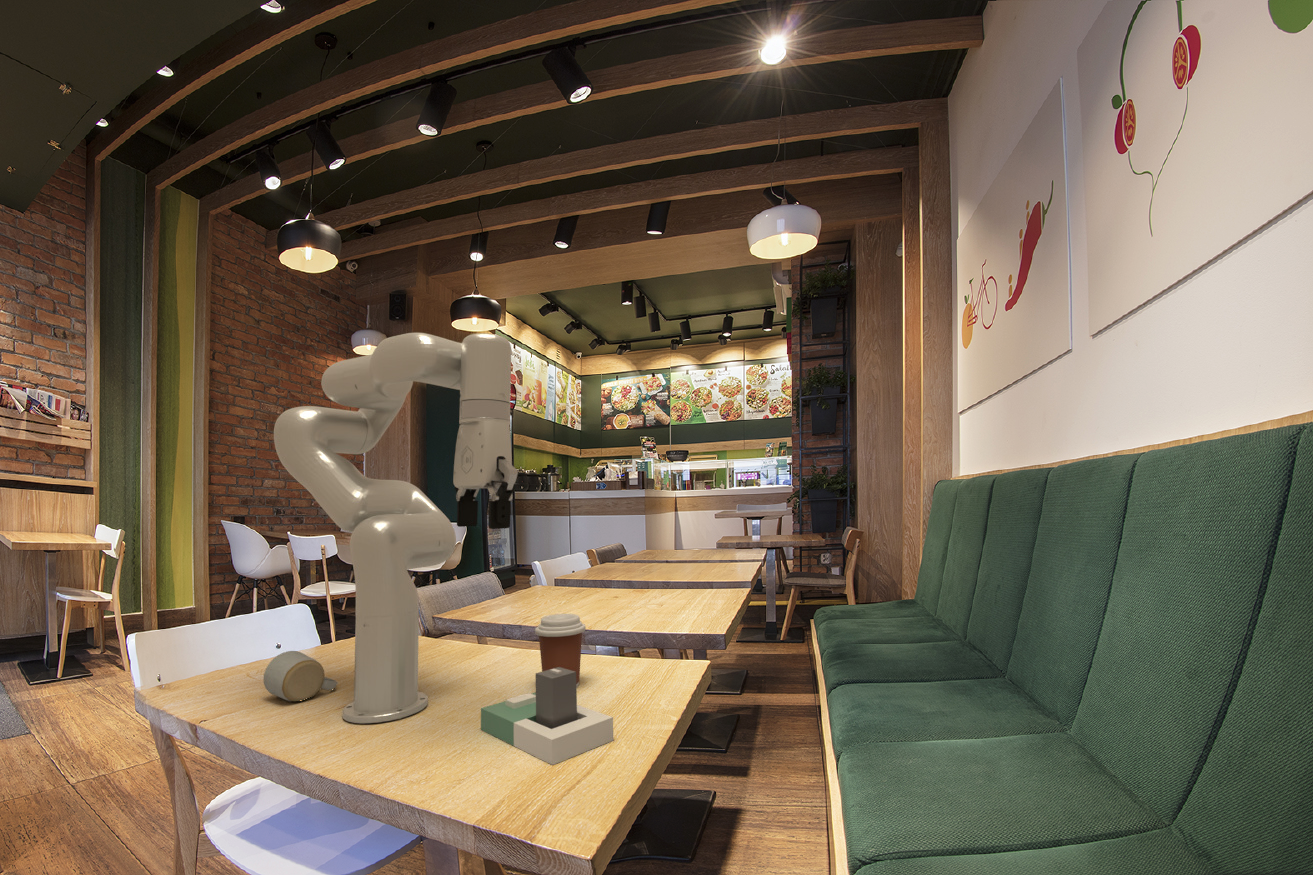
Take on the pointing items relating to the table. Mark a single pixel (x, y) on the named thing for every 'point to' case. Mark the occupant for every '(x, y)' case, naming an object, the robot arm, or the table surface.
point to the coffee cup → (561, 642)
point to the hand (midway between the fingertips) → (482, 527)
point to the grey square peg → (556, 697)
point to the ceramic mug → (296, 676)
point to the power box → (545, 729)
